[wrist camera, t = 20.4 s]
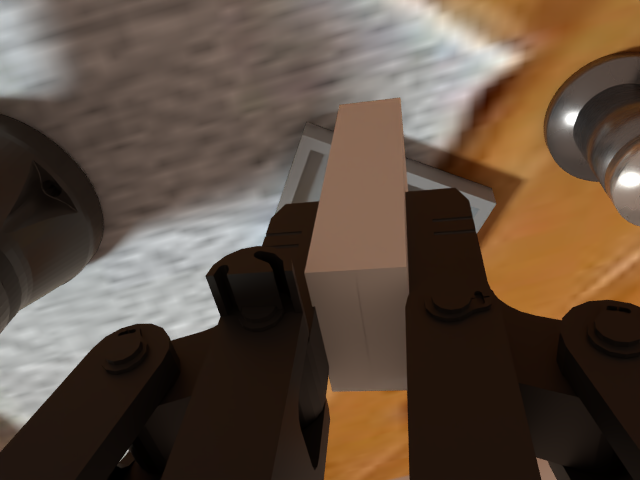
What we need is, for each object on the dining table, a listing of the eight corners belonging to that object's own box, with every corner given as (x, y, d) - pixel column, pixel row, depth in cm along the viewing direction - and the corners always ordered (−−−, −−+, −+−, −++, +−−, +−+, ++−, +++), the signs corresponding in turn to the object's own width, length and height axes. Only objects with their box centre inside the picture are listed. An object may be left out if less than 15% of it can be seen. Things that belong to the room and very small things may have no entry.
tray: (410, 317, 44) (411, 334, 43) (257, 267, 43) (251, 283, 42) (491, 188, 36) (496, 203, 35) (306, 121, 35) (302, 134, 34)
